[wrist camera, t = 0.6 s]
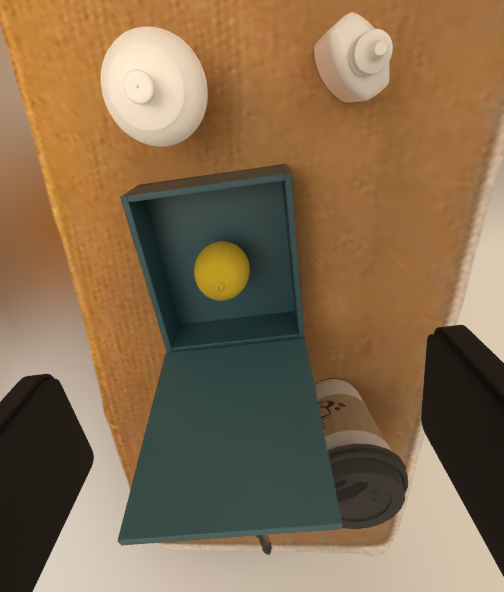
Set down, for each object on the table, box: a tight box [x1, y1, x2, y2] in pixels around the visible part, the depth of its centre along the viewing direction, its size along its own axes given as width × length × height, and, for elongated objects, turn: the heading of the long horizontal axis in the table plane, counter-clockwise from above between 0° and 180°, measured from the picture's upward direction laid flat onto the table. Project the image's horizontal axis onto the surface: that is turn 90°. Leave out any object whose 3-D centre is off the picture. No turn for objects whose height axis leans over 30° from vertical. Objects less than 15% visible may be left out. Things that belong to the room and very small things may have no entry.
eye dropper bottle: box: [314, 12, 393, 103], centre depth 27 cm, size 4×6×12 cm
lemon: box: [194, 241, 250, 301], centre depth 36 cm, size 6×6×8 cm
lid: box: [118, 338, 342, 545], centre depth 32 cm, size 18×15×1 cm
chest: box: [120, 164, 305, 353], centre depth 38 cm, size 17×15×6 cm
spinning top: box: [101, 27, 208, 147], centre depth 28 cm, size 8×8×12 cm
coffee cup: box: [315, 379, 408, 529], centre depth 43 cm, size 11×11×15 cm
